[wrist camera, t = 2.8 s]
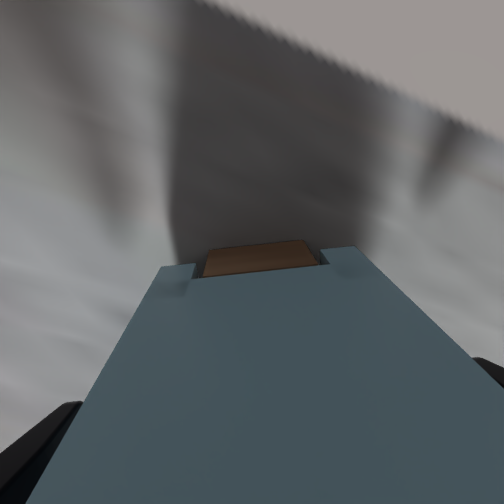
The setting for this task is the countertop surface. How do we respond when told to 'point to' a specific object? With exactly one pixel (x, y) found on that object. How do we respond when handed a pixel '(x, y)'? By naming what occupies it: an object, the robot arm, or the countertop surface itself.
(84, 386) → the countertop surface
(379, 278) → the block
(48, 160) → the countertop surface
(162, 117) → the countertop surface
